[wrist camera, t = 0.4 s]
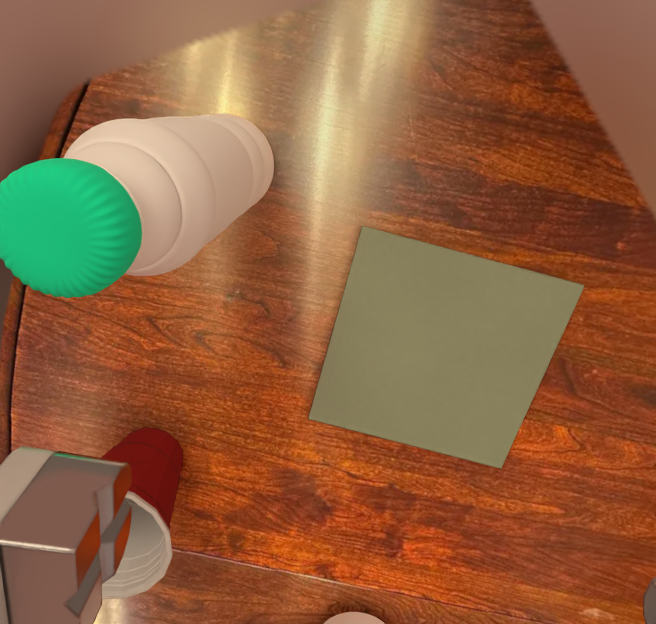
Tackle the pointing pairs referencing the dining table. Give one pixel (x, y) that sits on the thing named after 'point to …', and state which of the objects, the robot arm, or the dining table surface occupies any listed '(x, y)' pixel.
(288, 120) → the dining table surface
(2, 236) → the water bottle
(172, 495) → the plastic cup
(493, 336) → the mat
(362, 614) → the cup
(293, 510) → the dining table surface
